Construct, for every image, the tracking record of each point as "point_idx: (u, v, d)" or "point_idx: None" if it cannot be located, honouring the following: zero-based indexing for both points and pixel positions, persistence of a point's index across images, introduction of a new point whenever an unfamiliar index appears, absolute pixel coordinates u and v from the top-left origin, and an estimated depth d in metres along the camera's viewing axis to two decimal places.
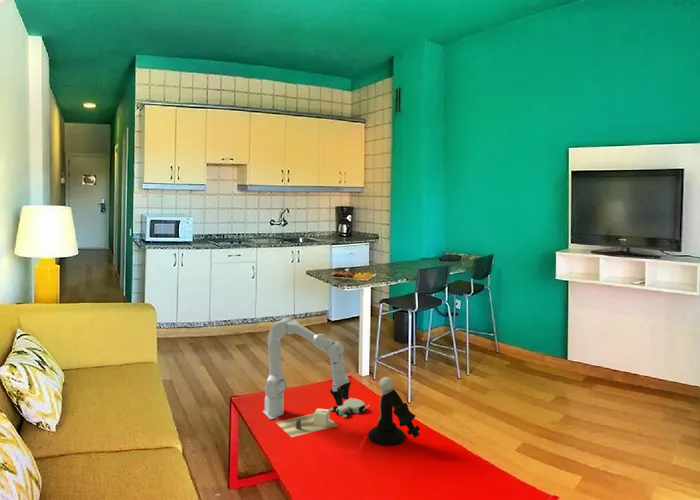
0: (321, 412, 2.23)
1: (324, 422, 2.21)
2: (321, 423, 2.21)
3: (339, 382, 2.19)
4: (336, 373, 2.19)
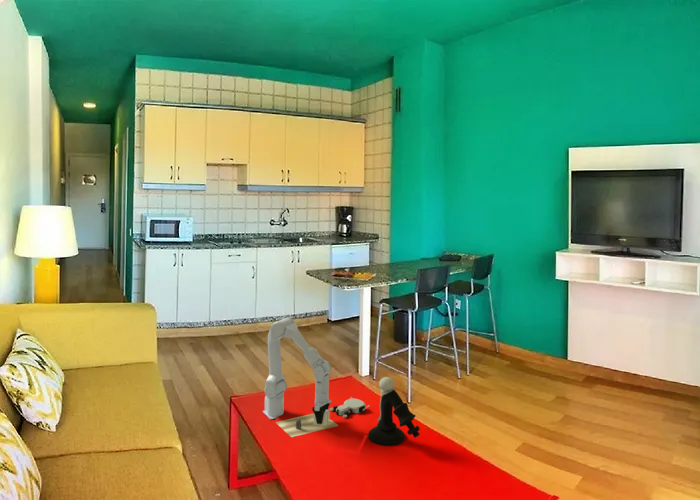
0: None
1: (324, 422, 2.21)
2: None
3: (321, 401, 2.20)
4: (320, 392, 2.20)
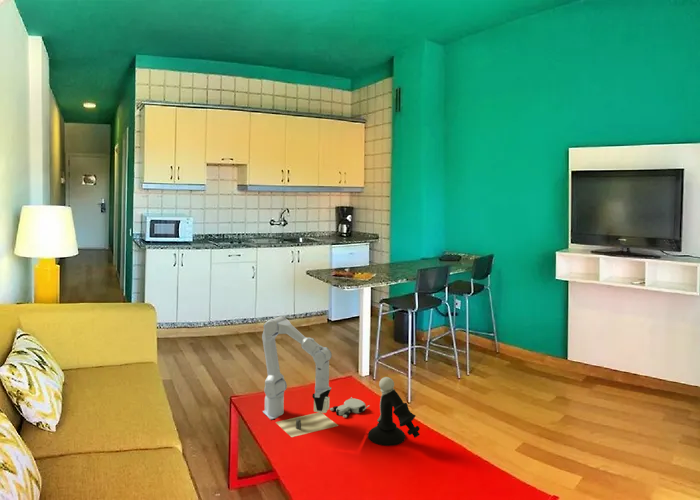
0: None
1: (324, 409, 2.20)
2: None
3: (322, 388, 2.20)
4: (320, 379, 2.19)
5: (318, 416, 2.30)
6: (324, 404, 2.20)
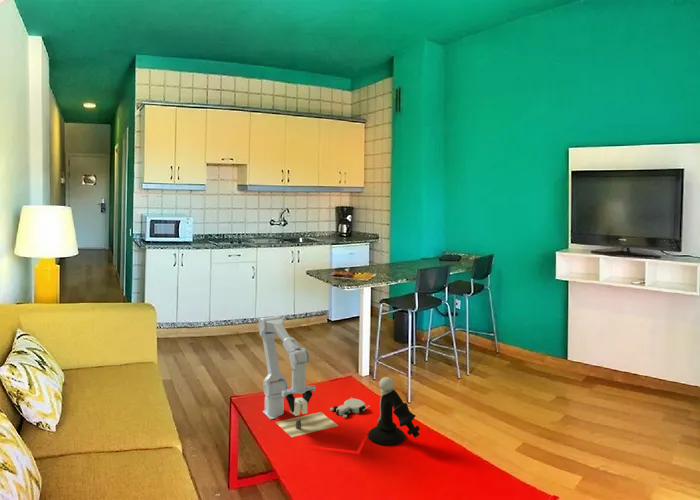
0: (296, 401, 2.16)
1: (294, 411, 2.14)
2: (293, 412, 2.15)
3: (293, 389, 2.14)
4: (292, 379, 2.15)
5: (318, 416, 2.30)
6: (294, 406, 2.14)
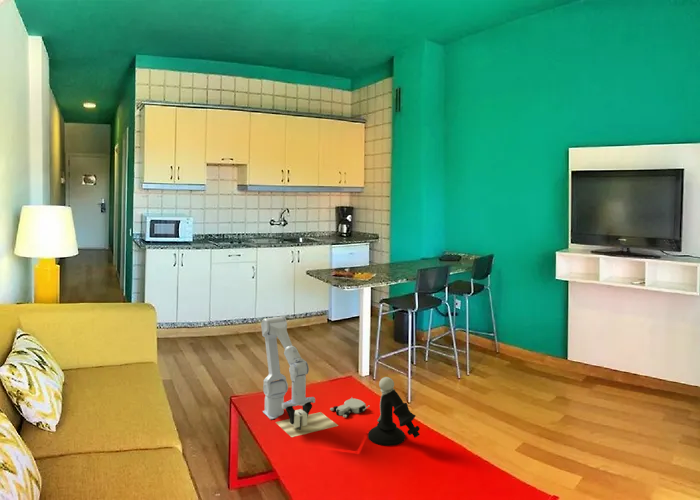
0: (296, 413, 2.17)
1: (294, 423, 2.15)
2: None
3: (293, 401, 2.15)
4: (292, 392, 2.15)
5: (318, 416, 2.30)
6: (294, 418, 2.15)
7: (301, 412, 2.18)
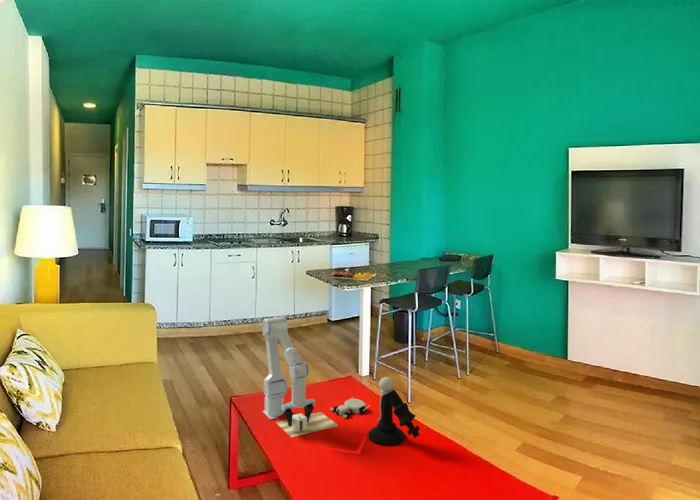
0: (296, 417, 2.17)
1: (294, 428, 2.15)
2: (293, 428, 2.16)
3: (293, 403, 2.15)
4: (292, 394, 2.15)
5: (318, 416, 2.30)
6: (294, 423, 2.15)
7: (301, 416, 2.18)
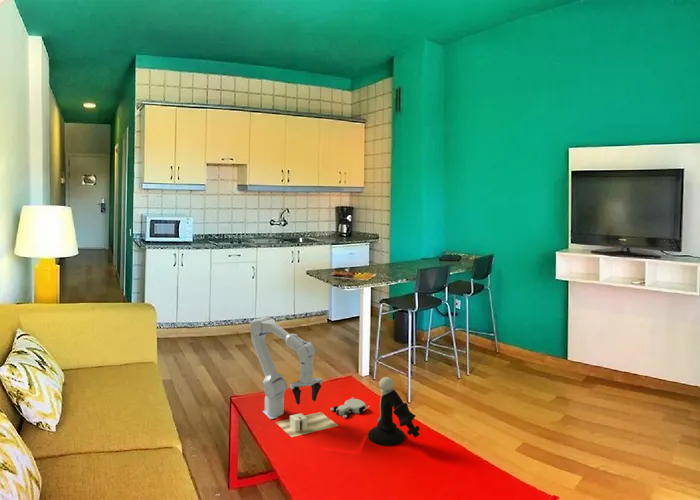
0: (296, 417, 2.17)
1: (294, 428, 2.15)
2: (293, 428, 2.16)
3: (301, 382, 2.22)
4: (300, 372, 2.22)
5: (318, 416, 2.30)
6: (294, 423, 2.15)
7: (301, 416, 2.18)
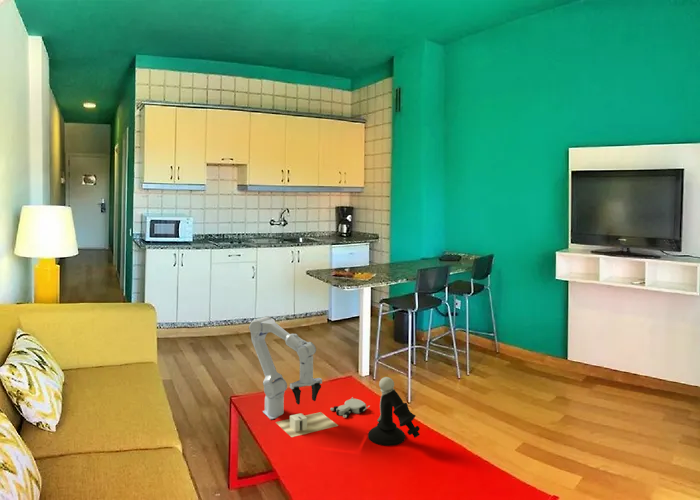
0: (296, 417, 2.17)
1: (294, 428, 2.15)
2: (293, 428, 2.16)
3: (301, 382, 2.22)
4: (300, 372, 2.22)
5: (318, 416, 2.30)
6: (294, 423, 2.15)
7: (301, 416, 2.18)
